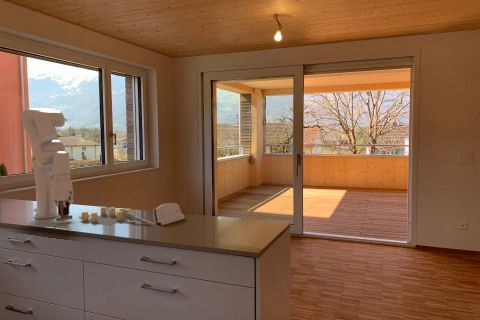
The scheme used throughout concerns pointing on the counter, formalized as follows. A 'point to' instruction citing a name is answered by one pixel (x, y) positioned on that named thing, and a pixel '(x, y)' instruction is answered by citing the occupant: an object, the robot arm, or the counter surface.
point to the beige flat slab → (167, 213)
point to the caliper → (135, 218)
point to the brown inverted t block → (62, 217)
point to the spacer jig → (105, 216)
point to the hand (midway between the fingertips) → (63, 214)
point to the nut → (81, 215)
